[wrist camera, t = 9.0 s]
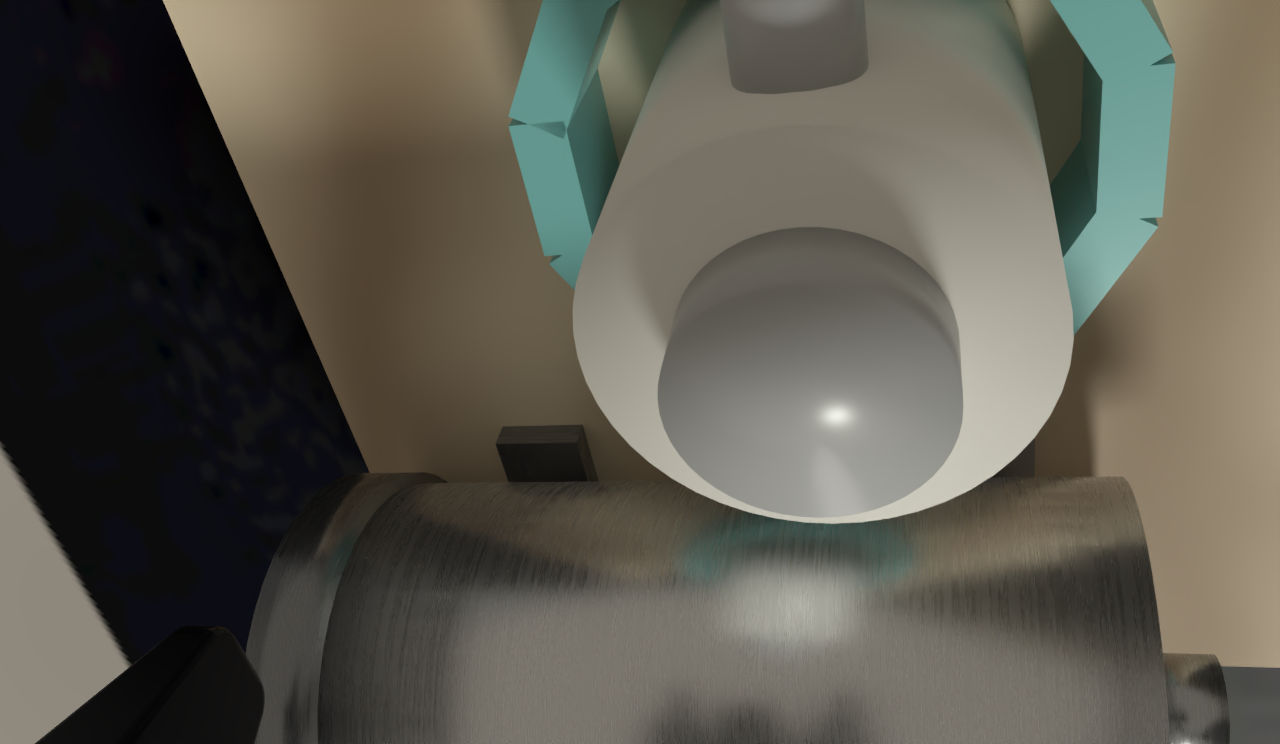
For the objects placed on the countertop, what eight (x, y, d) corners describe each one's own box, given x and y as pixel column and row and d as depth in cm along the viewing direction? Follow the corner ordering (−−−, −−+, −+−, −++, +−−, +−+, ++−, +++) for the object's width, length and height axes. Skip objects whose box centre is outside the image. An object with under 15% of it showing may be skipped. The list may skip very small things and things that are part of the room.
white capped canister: (1032, -231, 14) (1109, -17, 9) (1025, 241, 18) (1073, 590, 13) (613, -167, 15) (451, 54, 10) (690, 260, 19) (606, 584, 14)
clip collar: (1169, -268, 14) (1200, -227, 12) (1127, 324, 18) (1146, 406, 17) (488, -157, 16) (441, -111, 14) (614, 345, 21) (589, 419, 19)
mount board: (1525, -375, 13) (1562, -362, 12) (1303, 627, 23) (1317, 668, 22) (145, -139, 18) (110, -118, 17) (457, 610, 28) (444, 644, 27)
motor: (1193, 352, 19) (1318, 784, 13) (1159, 654, 23) (1240, 1080, 17) (373, 380, 22) (174, 725, 16) (478, 635, 27) (351, 980, 21)
